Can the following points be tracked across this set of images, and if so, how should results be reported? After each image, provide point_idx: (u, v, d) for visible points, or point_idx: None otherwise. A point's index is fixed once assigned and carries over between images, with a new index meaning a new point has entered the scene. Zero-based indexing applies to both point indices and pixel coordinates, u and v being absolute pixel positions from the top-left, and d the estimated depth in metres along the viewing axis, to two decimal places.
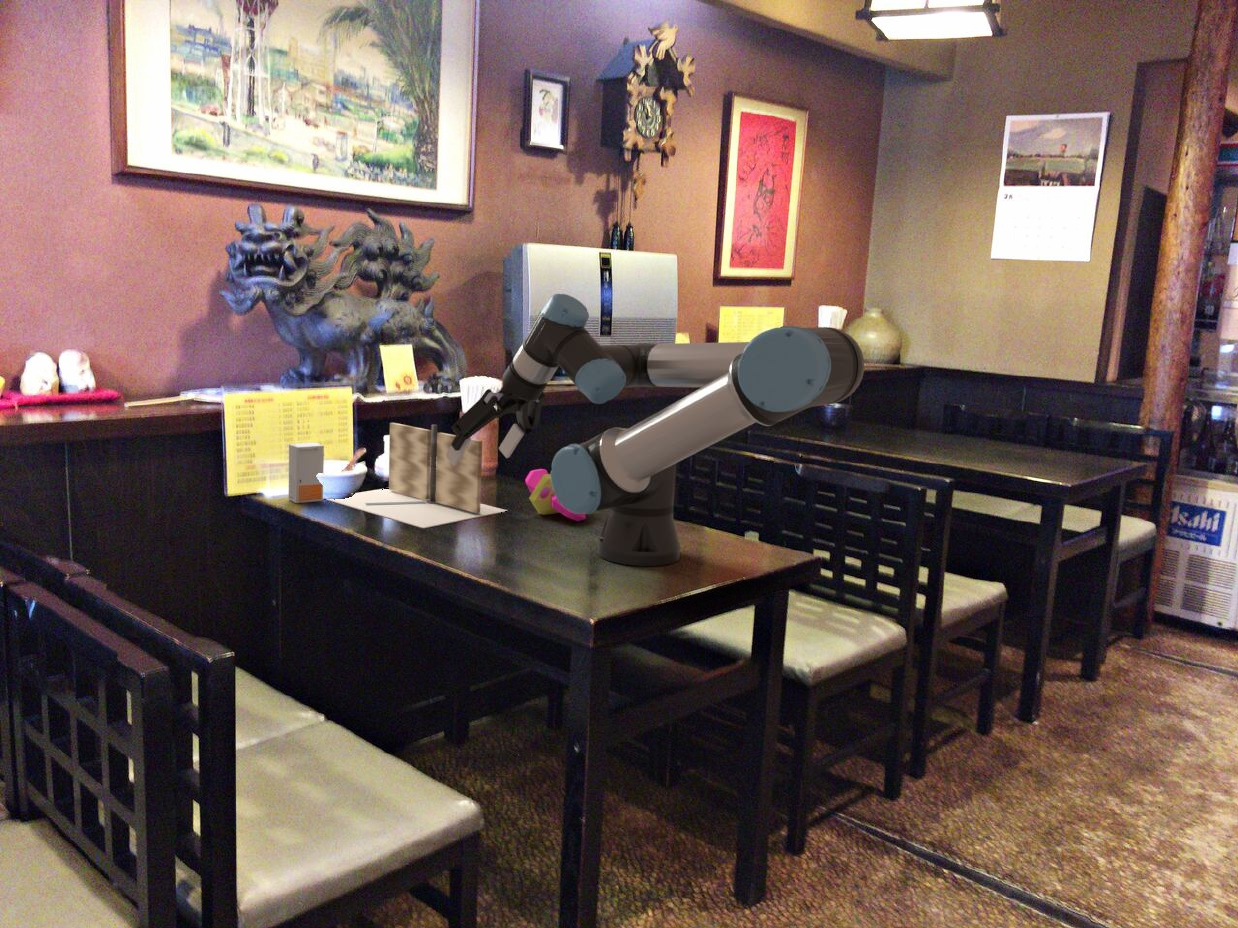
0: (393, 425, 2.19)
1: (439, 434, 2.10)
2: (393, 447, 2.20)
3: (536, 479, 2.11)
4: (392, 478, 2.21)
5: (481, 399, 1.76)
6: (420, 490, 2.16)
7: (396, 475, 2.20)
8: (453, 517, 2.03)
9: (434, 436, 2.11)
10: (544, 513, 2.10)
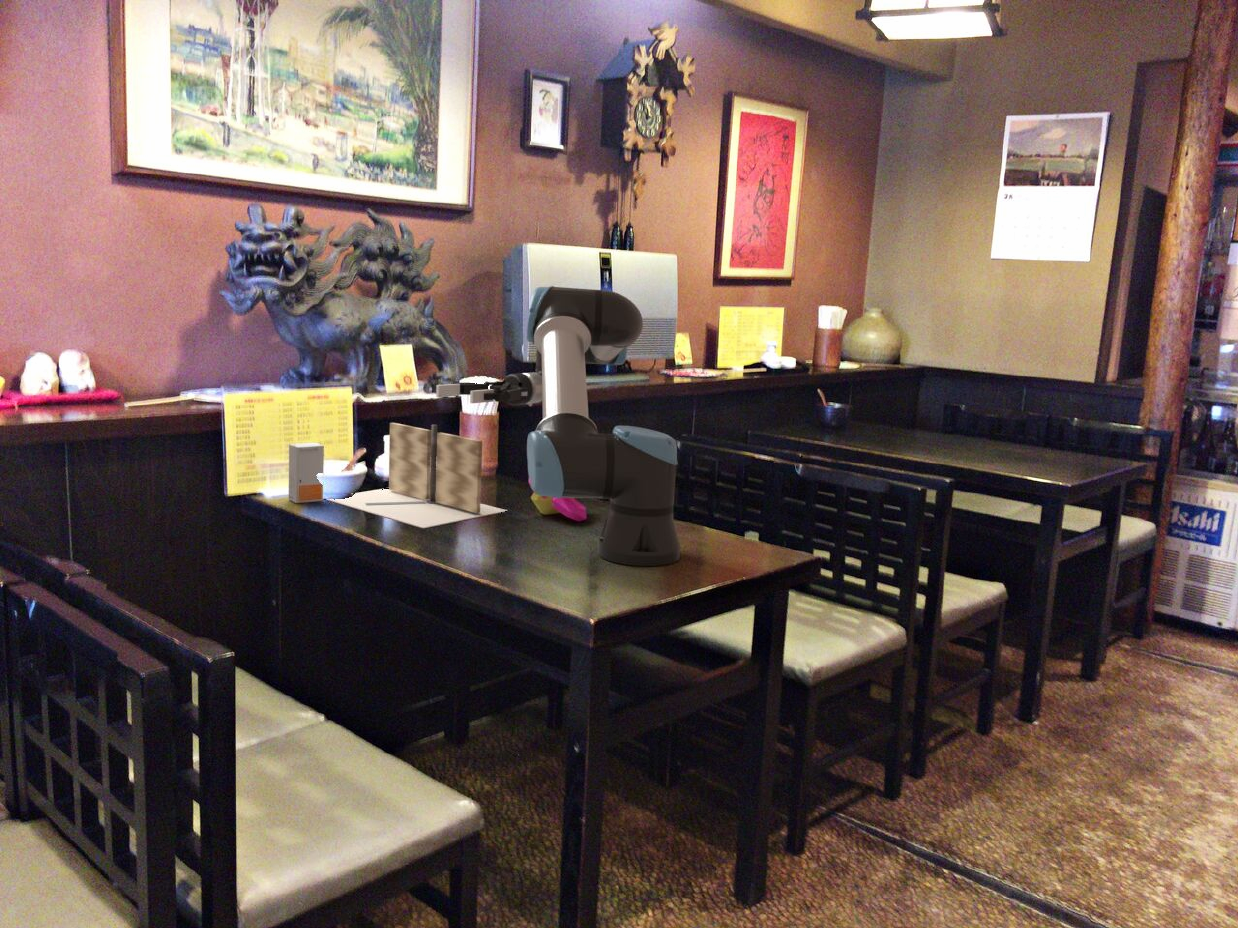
0: (393, 425, 2.19)
1: (439, 434, 2.10)
2: (393, 447, 2.20)
3: None
4: (392, 478, 2.21)
5: None
6: (420, 490, 2.16)
7: (396, 475, 2.20)
8: (453, 517, 2.03)
9: (434, 436, 2.11)
10: (546, 513, 2.10)
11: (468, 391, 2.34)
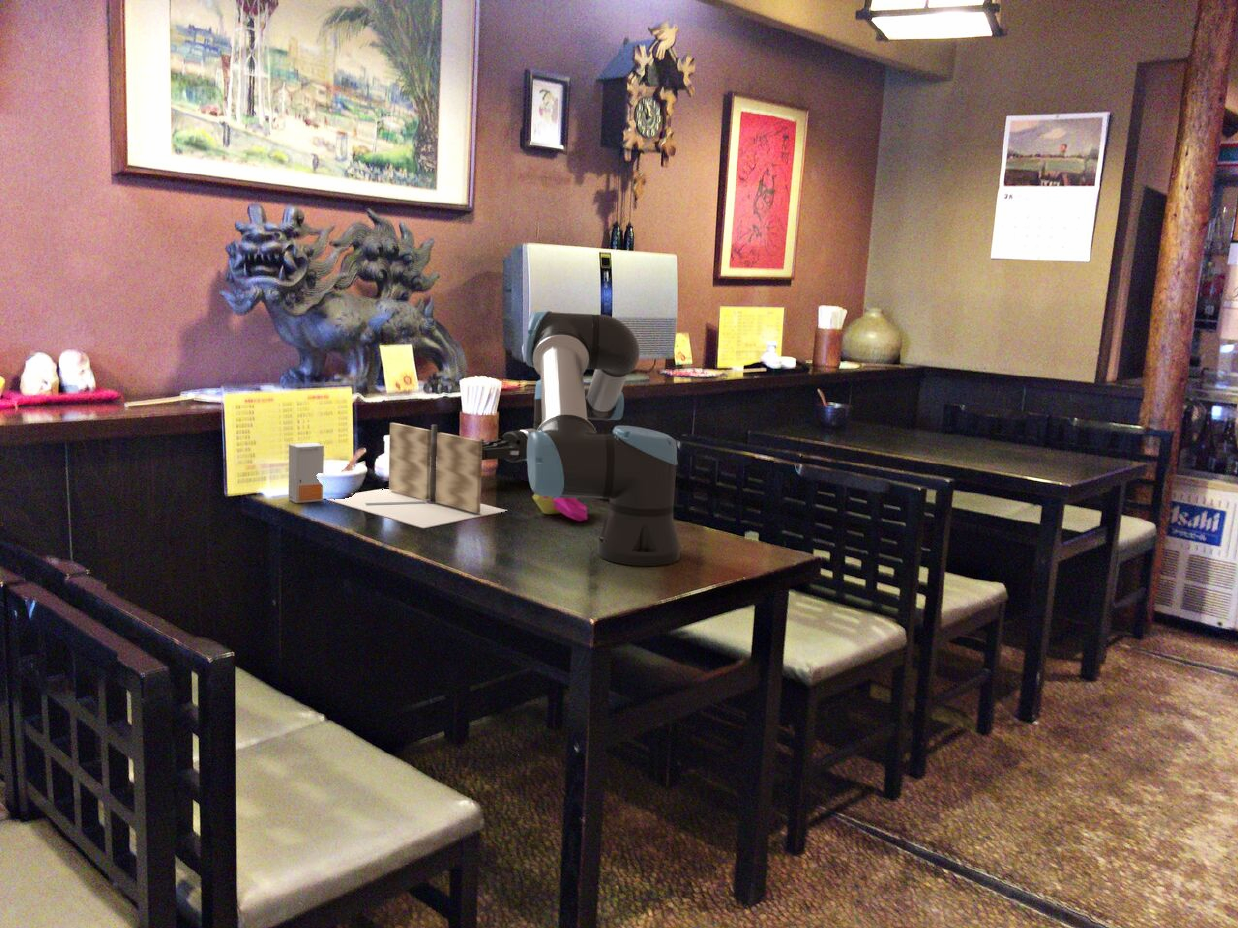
0: (393, 425, 2.19)
1: (439, 434, 2.10)
2: (393, 447, 2.20)
3: None
4: (392, 478, 2.21)
5: None
6: (420, 490, 2.16)
7: (396, 475, 2.20)
8: (453, 517, 2.03)
9: (434, 436, 2.11)
10: (548, 513, 2.11)
11: None
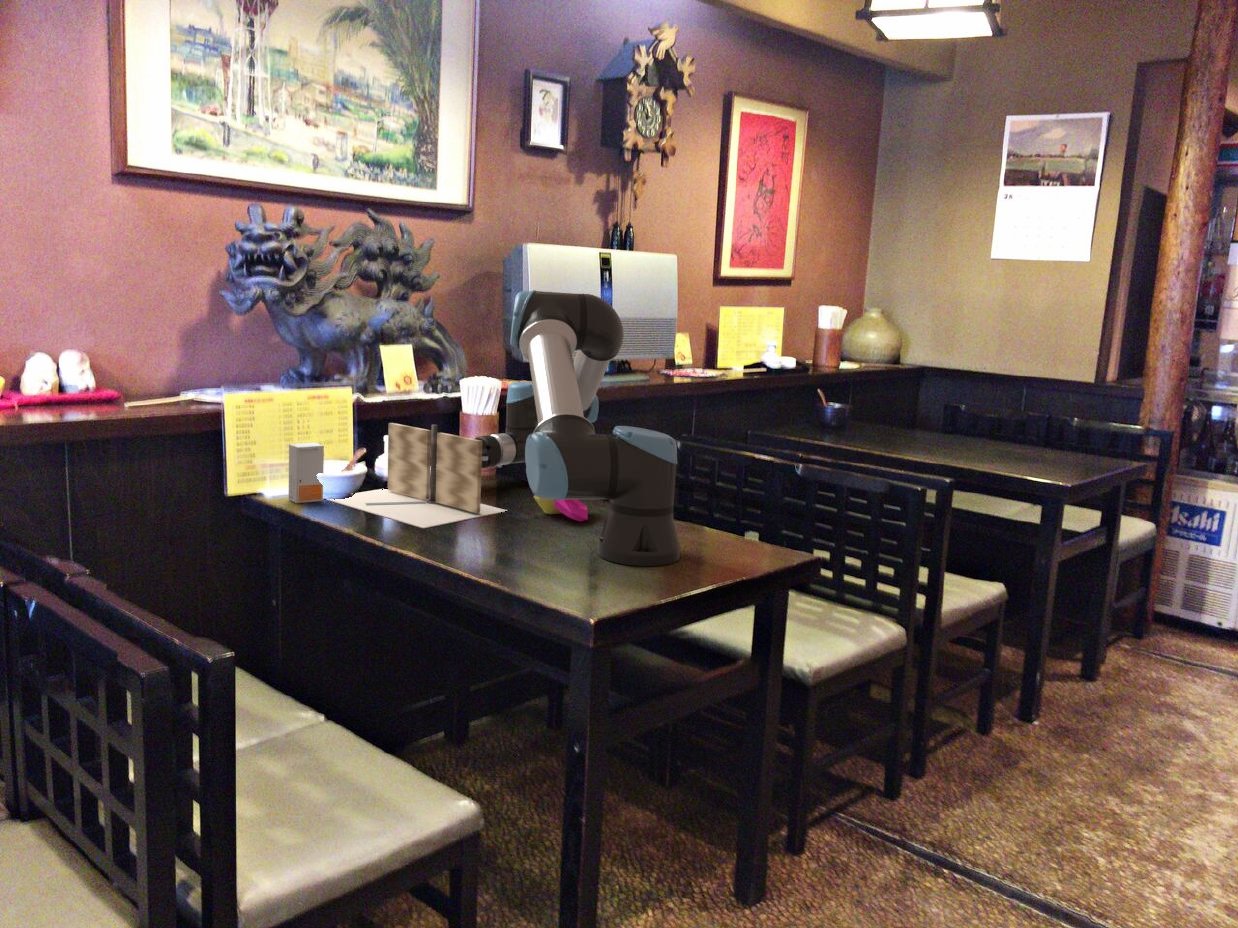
0: (392, 425, 2.19)
1: (439, 434, 2.10)
2: (392, 447, 2.20)
3: None
4: (391, 479, 2.21)
5: None
6: (420, 490, 2.16)
7: (395, 475, 2.20)
8: (453, 517, 2.03)
9: (434, 436, 2.11)
10: (549, 512, 2.11)
11: None
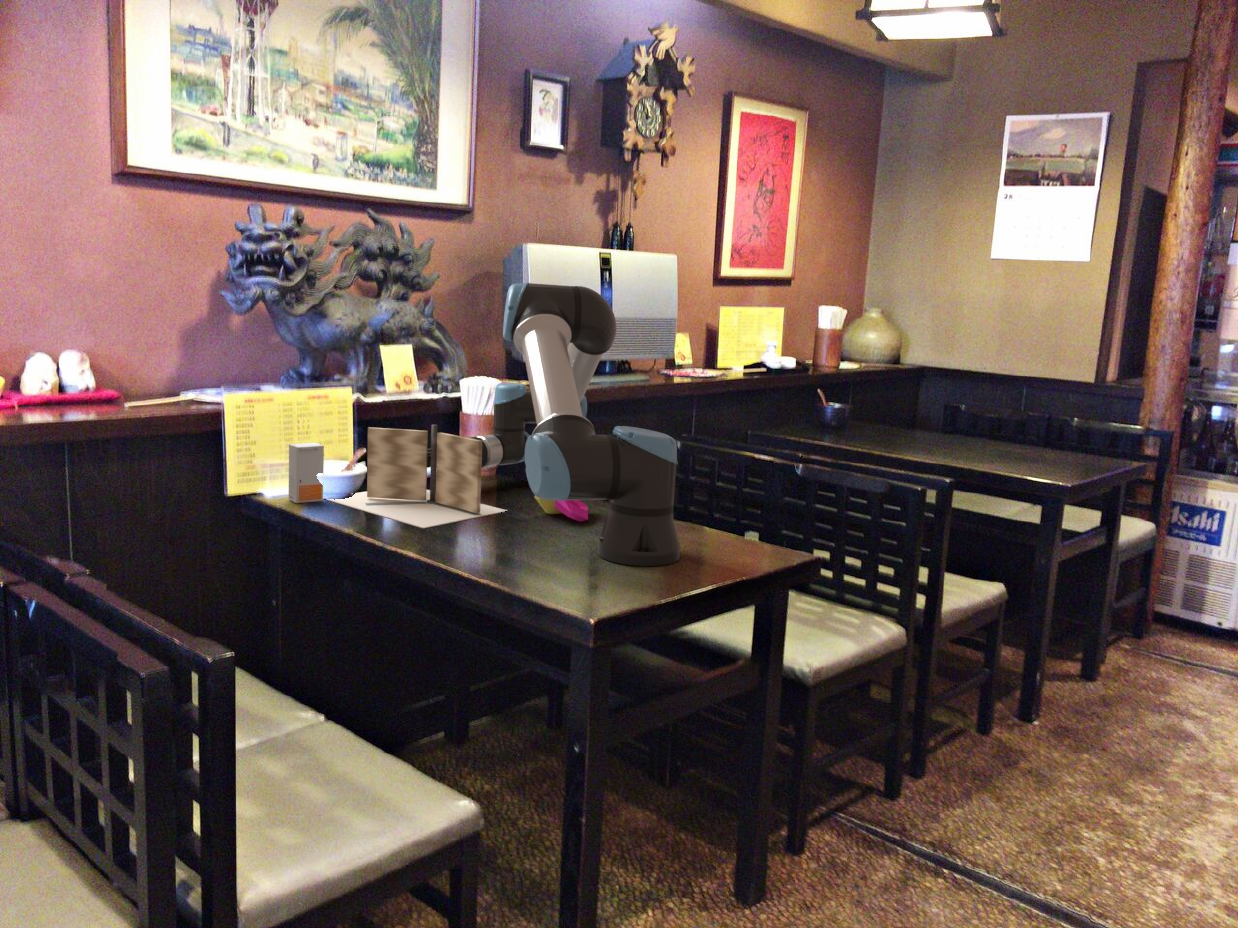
0: (373, 430, 2.11)
1: (439, 434, 2.10)
2: (374, 452, 2.12)
3: None
4: (373, 485, 2.14)
5: None
6: (416, 492, 2.14)
7: (379, 481, 2.13)
8: (453, 517, 2.03)
9: (434, 436, 2.11)
10: (550, 512, 2.11)
11: None
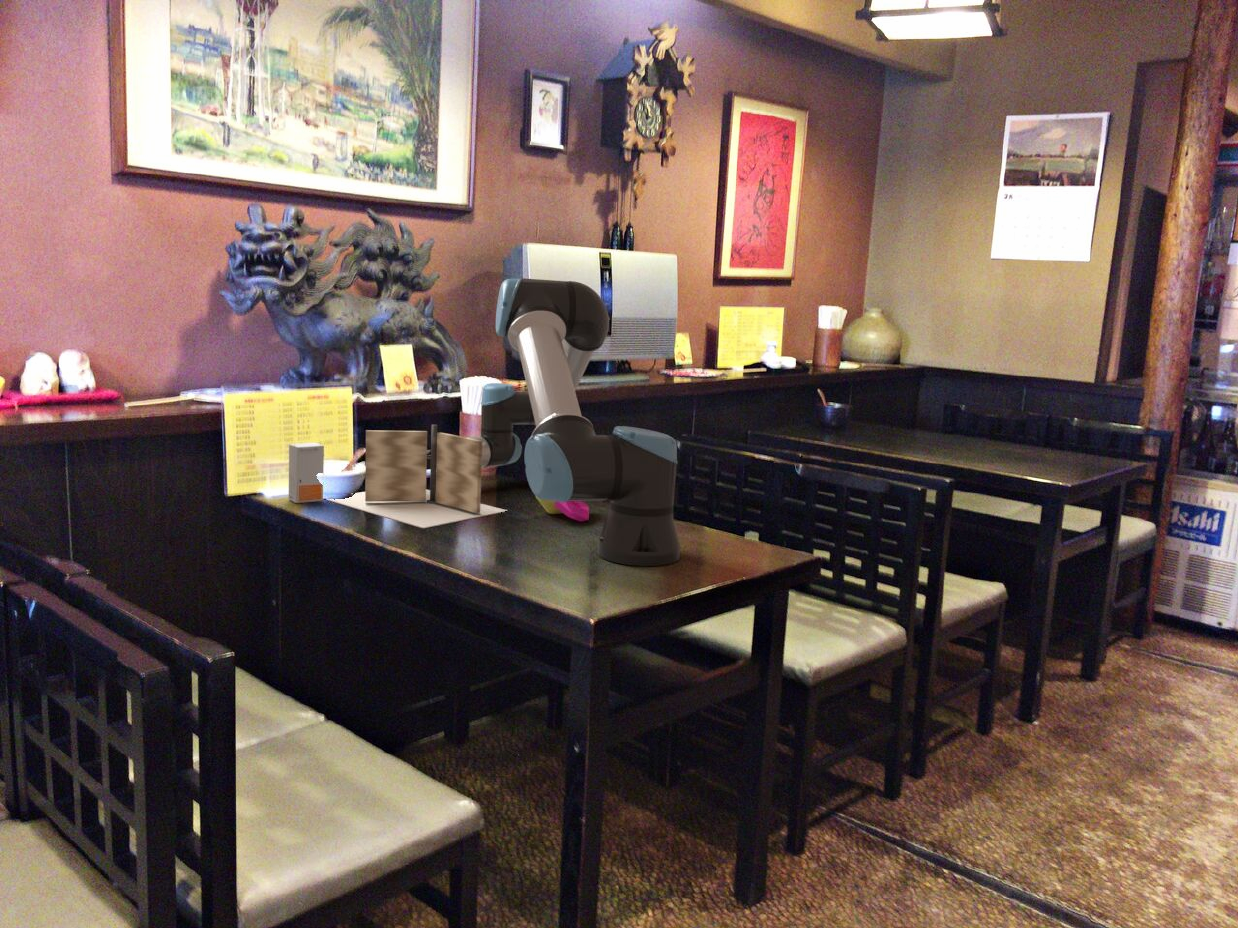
0: (372, 432, 2.08)
1: (439, 434, 2.10)
2: (373, 455, 2.09)
3: None
4: (371, 489, 2.10)
5: None
6: (416, 493, 2.13)
7: (378, 484, 2.10)
8: (453, 517, 2.03)
9: (434, 436, 2.11)
10: (552, 512, 2.11)
11: None
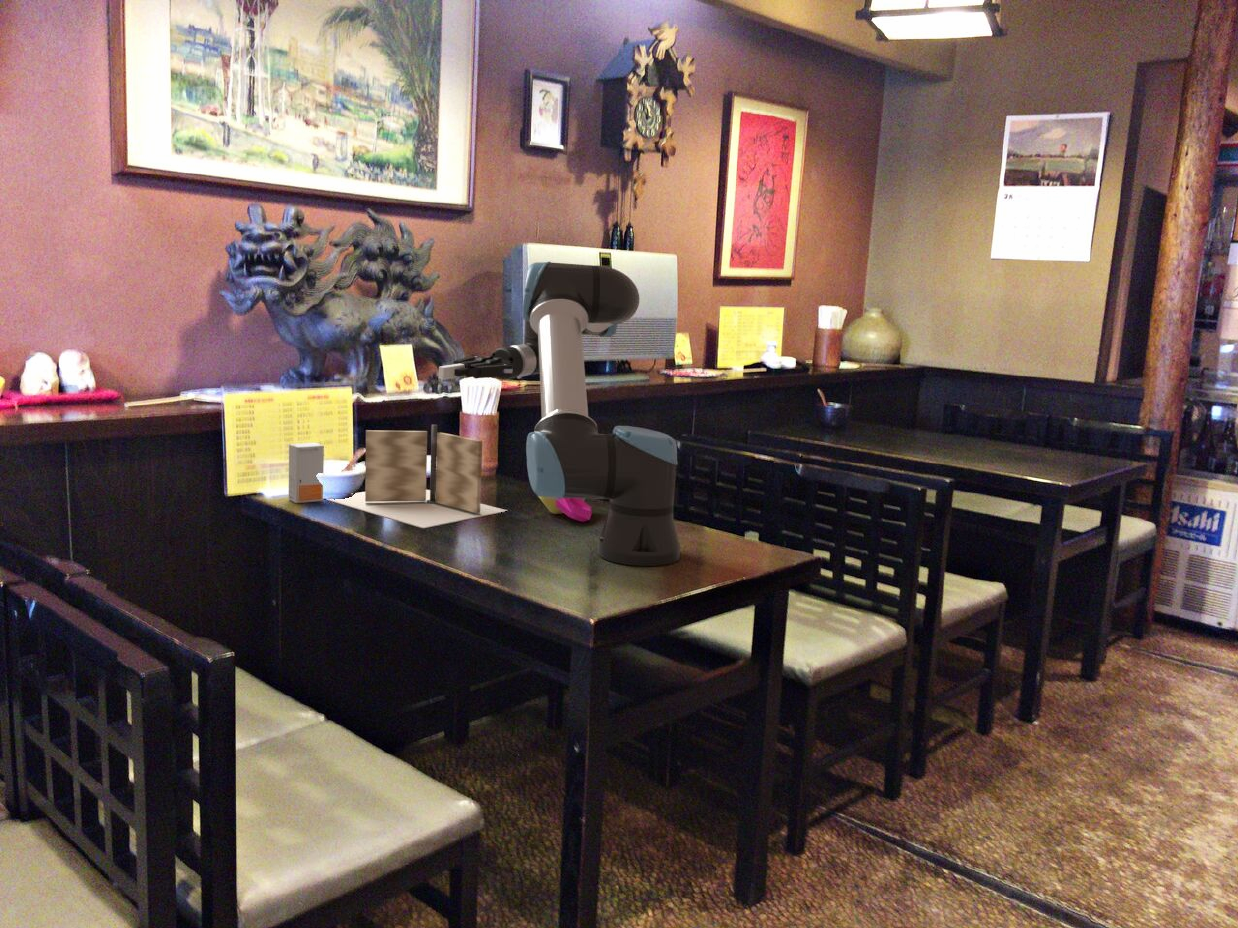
0: (372, 432, 2.08)
1: (439, 434, 2.10)
2: (373, 455, 2.09)
3: None
4: (371, 489, 2.10)
5: None
6: (416, 493, 2.13)
7: (378, 484, 2.10)
8: (453, 517, 2.03)
9: (434, 436, 2.11)
10: (555, 512, 2.11)
11: None
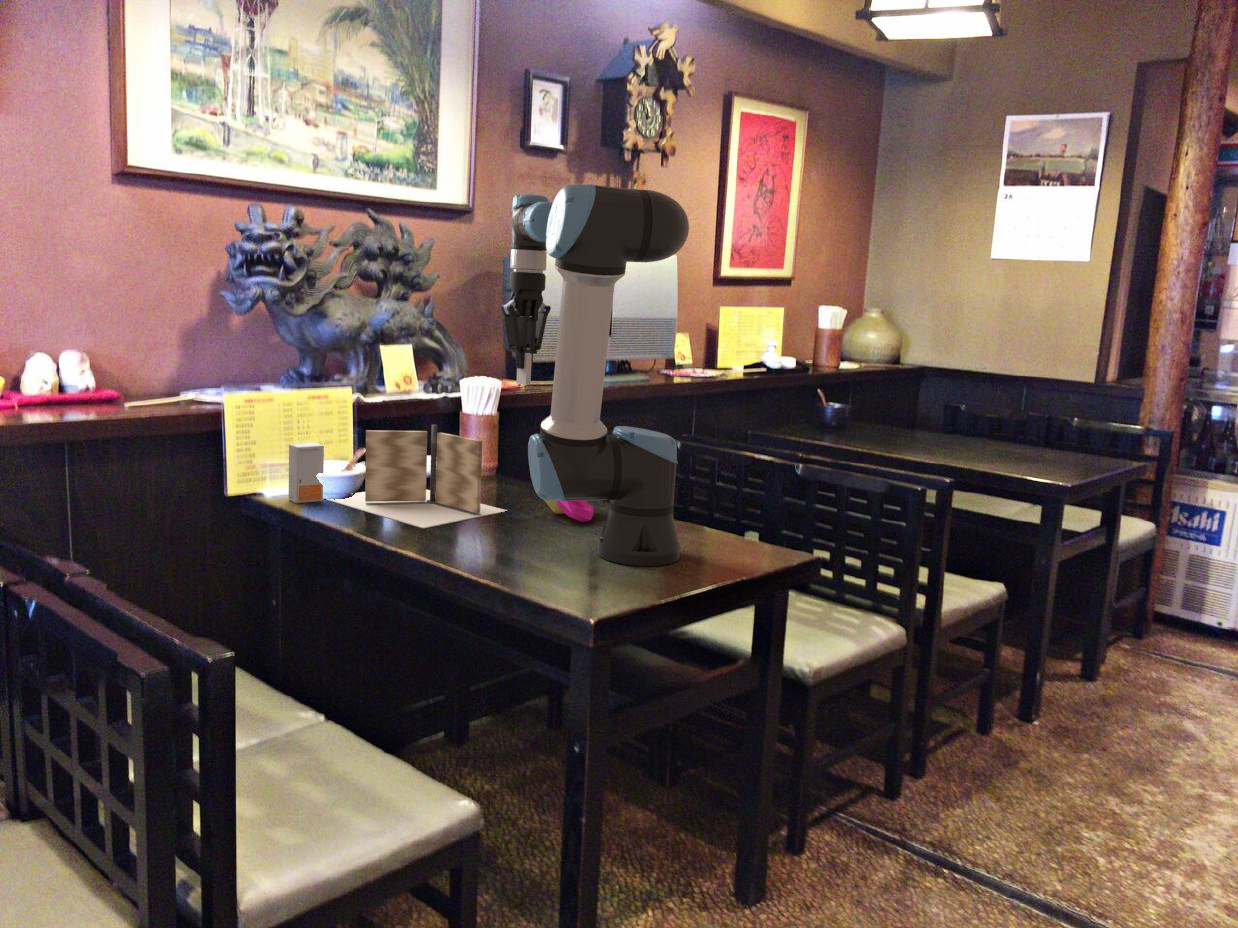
0: (372, 432, 2.08)
1: (439, 434, 2.10)
2: (373, 455, 2.09)
3: None
4: (371, 489, 2.10)
5: (505, 315, 2.07)
6: (416, 493, 2.13)
7: (378, 484, 2.10)
8: (453, 517, 2.03)
9: (434, 436, 2.11)
10: (557, 512, 2.12)
11: None
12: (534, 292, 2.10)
